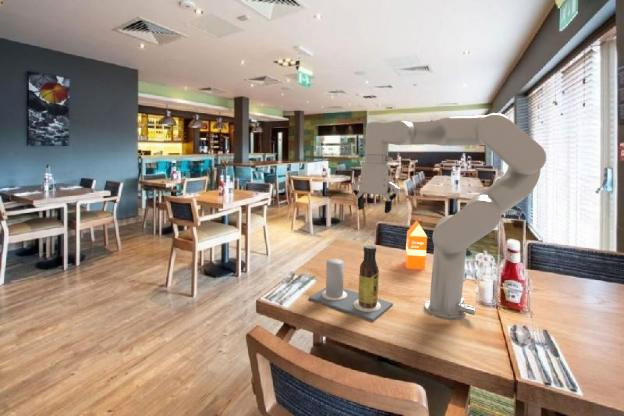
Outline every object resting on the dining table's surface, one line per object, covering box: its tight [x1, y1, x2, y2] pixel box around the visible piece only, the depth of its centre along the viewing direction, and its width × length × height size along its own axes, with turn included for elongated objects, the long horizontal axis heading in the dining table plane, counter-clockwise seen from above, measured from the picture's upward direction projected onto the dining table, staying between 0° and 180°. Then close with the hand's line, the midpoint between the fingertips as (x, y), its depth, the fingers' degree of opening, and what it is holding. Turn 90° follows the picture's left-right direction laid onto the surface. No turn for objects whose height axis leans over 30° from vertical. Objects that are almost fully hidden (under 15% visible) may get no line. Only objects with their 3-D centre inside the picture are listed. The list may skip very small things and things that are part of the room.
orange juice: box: [405, 220, 428, 270], centre depth 156 cm, size 8×9×20 cm
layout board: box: [308, 258, 394, 322], centre depth 119 cm, size 25×14×13 cm, turn 53°
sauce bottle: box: [358, 244, 380, 308], centre depth 115 cm, size 6×6×20 cm
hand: (373, 210), depth 120 cm, fingers open, 9 cm apart
